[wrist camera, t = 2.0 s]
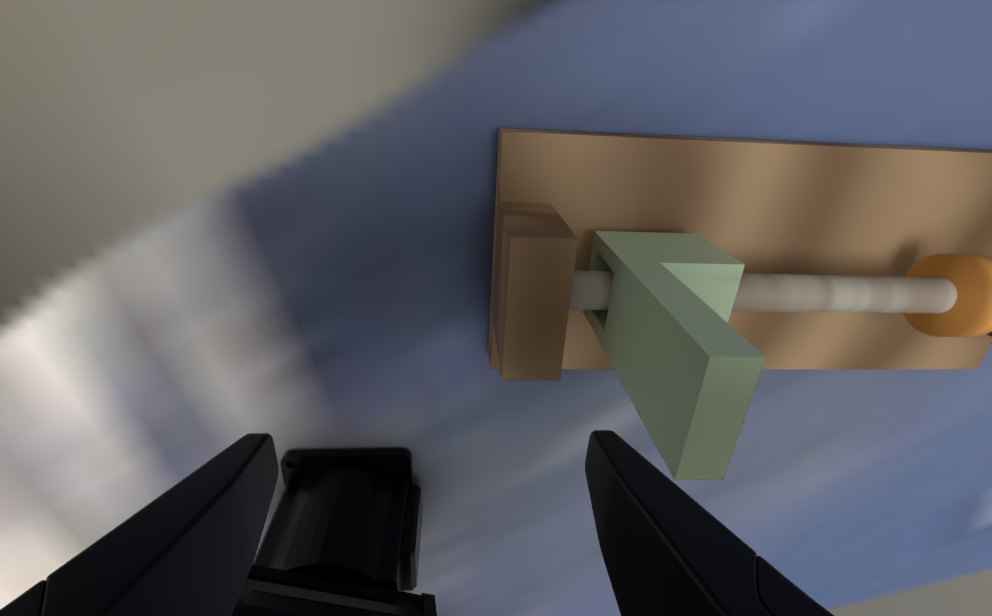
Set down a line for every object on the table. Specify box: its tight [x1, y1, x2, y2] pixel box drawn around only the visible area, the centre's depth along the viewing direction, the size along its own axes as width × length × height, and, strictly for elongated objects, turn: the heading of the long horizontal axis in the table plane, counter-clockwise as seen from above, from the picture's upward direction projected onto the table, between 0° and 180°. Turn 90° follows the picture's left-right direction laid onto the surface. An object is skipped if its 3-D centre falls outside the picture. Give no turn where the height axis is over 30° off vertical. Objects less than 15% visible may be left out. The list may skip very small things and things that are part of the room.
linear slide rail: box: [488, 128, 992, 380], centre depth 18 cm, size 24×10×6 cm, turn 87°
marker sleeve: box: [583, 231, 766, 480], centre depth 15 cm, size 4×3×9 cm
